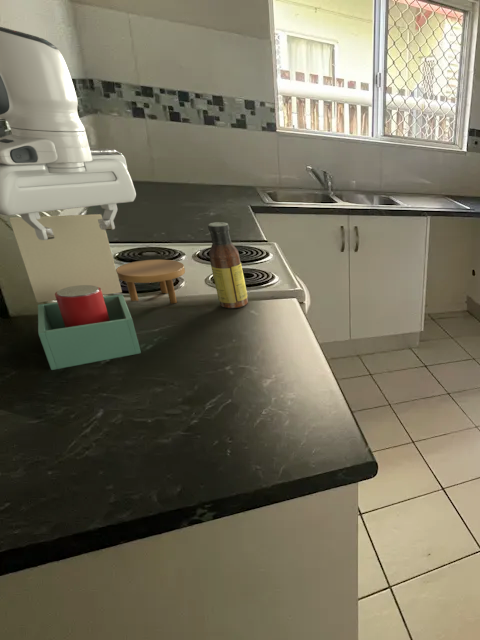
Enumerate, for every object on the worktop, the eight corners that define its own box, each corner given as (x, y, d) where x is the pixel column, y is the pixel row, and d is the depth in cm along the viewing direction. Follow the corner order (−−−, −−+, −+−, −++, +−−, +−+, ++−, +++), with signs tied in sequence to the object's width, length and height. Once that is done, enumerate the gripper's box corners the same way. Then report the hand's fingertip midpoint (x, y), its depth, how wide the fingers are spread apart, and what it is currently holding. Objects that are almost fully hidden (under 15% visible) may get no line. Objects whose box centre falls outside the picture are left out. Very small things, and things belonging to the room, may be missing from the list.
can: (63, 349, 88) (44, 292, 84) (98, 336, 94) (82, 282, 89) (90, 355, 87) (73, 299, 82) (124, 342, 93) (109, 288, 88)
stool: (110, 303, 110) (100, 270, 107) (160, 286, 122) (153, 256, 118) (155, 313, 107) (147, 279, 104) (202, 295, 119) (197, 265, 116)
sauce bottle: (244, 298, 120) (233, 219, 111) (251, 307, 116) (240, 225, 107) (215, 302, 116) (200, 221, 107) (221, 311, 112) (206, 227, 103)
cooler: (141, 356, 90) (132, 319, 87) (52, 373, 82) (38, 333, 79) (131, 328, 100) (122, 294, 96) (50, 342, 92) (37, 304, 88)
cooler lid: (101, 214, 91) (100, 214, 91) (8, 217, 83) (9, 217, 84) (122, 292, 96) (121, 291, 96) (36, 302, 88) (37, 302, 89)
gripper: (109, 145, 86) (127, 221, 92) (-42, 147, 68) (-8, 241, 74) (134, 149, 84) (151, 227, 90) (-15, 152, 66) (18, 248, 72)
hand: (78, 234), depth 82 cm, fingers open, 8 cm apart
